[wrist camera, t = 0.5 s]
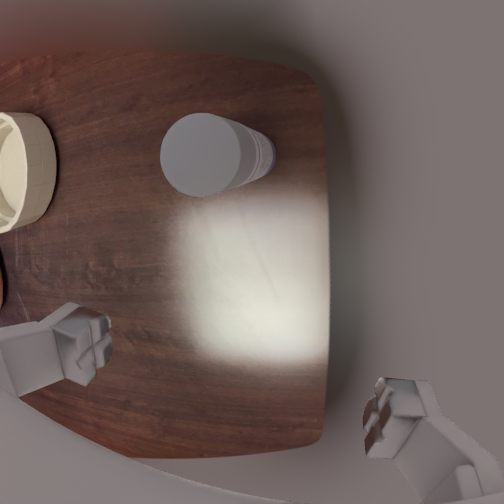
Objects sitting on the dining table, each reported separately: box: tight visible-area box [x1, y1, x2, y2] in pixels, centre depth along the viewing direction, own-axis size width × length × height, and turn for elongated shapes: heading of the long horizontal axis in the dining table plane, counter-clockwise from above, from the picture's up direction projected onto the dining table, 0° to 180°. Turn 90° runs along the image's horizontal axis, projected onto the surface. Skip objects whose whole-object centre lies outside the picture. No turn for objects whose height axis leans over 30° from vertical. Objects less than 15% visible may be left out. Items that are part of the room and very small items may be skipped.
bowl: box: [0, 113, 56, 233], centre depth 32 cm, size 16×16×6 cm
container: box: [160, 113, 276, 197], centre depth 23 cm, size 5×5×15 cm
